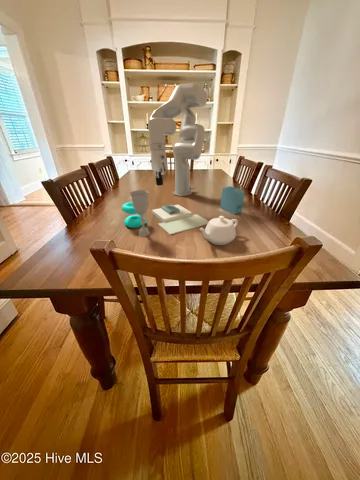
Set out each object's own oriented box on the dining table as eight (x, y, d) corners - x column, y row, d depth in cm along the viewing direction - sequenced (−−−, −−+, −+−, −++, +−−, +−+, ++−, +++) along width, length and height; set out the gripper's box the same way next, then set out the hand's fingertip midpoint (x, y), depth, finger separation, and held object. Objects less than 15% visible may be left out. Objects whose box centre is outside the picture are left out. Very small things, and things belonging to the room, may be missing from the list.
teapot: (209, 254, 72) (211, 229, 67) (189, 240, 81) (189, 217, 76) (247, 239, 81) (251, 216, 76) (225, 227, 90) (227, 206, 85)
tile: (171, 206, 109) (171, 204, 108) (179, 212, 102) (179, 209, 101) (161, 209, 106) (161, 206, 105) (169, 214, 99) (169, 211, 99)
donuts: (120, 208, 85) (122, 201, 93) (124, 229, 90) (125, 220, 98) (144, 207, 86) (143, 199, 95) (146, 227, 91) (145, 219, 100)
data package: (241, 213, 105) (245, 191, 99) (235, 215, 103) (238, 192, 97) (226, 206, 114) (228, 185, 108) (220, 208, 112) (222, 186, 106)
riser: (178, 207, 113) (178, 204, 112) (191, 216, 102) (191, 212, 101) (152, 213, 106) (151, 209, 105) (163, 223, 95) (163, 219, 94)
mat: (196, 214, 104) (196, 214, 103) (210, 223, 95) (210, 222, 94) (158, 224, 94) (157, 223, 94) (169, 234, 85) (169, 233, 85)
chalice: (138, 238, 82) (132, 196, 74) (133, 232, 88) (127, 191, 79) (154, 234, 85) (151, 193, 76) (149, 228, 91) (145, 189, 82)
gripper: (171, 147, 93) (172, 187, 102) (158, 146, 105) (160, 181, 114) (157, 148, 90) (159, 189, 99) (144, 146, 101) (147, 183, 110)
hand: (159, 184), depth 106 cm, fingers closed
